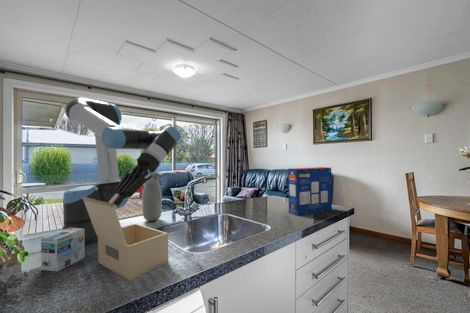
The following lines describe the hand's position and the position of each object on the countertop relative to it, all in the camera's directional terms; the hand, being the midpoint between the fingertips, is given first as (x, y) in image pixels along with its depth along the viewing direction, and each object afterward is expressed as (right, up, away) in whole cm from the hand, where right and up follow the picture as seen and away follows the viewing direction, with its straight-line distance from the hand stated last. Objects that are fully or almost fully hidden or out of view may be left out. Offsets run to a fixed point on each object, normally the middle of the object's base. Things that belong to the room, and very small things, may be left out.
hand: (105, 213), depth 70 cm
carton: (+5, -19, +7) cm, 21 cm away
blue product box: (+89, -18, +73) cm, 117 cm away
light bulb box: (-18, -19, +7) cm, 27 cm away
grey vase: (-6, -19, +58) cm, 61 cm away
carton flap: (0, -2, 0) cm, 2 cm away
